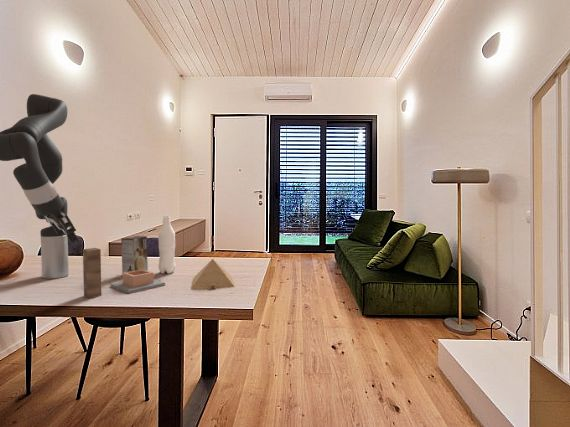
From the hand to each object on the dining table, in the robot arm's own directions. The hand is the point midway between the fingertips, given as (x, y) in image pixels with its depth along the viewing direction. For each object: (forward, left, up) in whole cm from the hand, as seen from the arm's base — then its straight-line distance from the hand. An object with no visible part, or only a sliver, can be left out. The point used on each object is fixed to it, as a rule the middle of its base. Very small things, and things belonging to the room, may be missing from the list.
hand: (67, 236), depth 109 cm
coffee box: (-15, +30, -21) cm, 40 cm away
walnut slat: (+5, +5, -20) cm, 22 cm away
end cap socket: (+5, +21, -20) cm, 30 cm away
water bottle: (-6, +40, -21) cm, 46 cm away
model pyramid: (+23, +42, -21) cm, 52 cm away
